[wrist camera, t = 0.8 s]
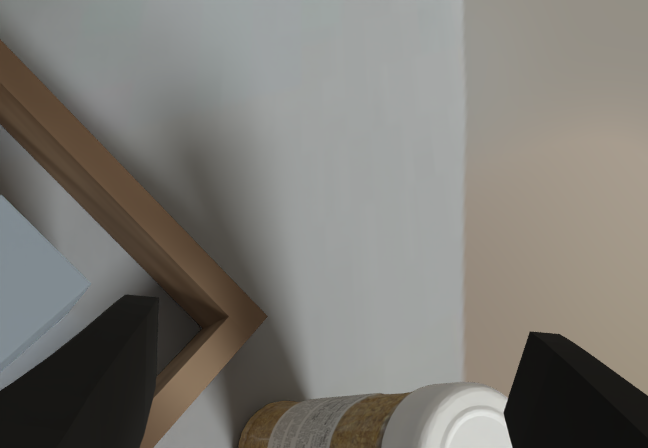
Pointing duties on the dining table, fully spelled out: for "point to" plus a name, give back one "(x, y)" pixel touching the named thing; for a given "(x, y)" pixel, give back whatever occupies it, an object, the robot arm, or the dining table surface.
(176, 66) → the dining table surface
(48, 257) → the slate block
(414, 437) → the sprinkles bottle
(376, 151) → the dining table surface
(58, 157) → the walnut stall
